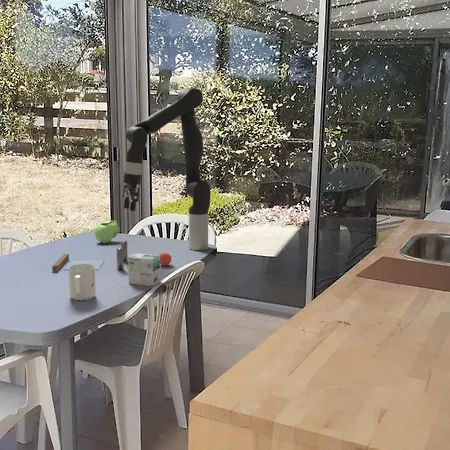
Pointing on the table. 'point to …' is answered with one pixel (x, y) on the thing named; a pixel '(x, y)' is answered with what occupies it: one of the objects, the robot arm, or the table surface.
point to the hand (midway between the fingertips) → (129, 209)
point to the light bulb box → (144, 269)
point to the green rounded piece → (106, 231)
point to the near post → (120, 259)
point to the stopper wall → (60, 263)
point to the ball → (165, 259)
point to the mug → (82, 281)
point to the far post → (124, 251)
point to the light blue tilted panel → (95, 263)
